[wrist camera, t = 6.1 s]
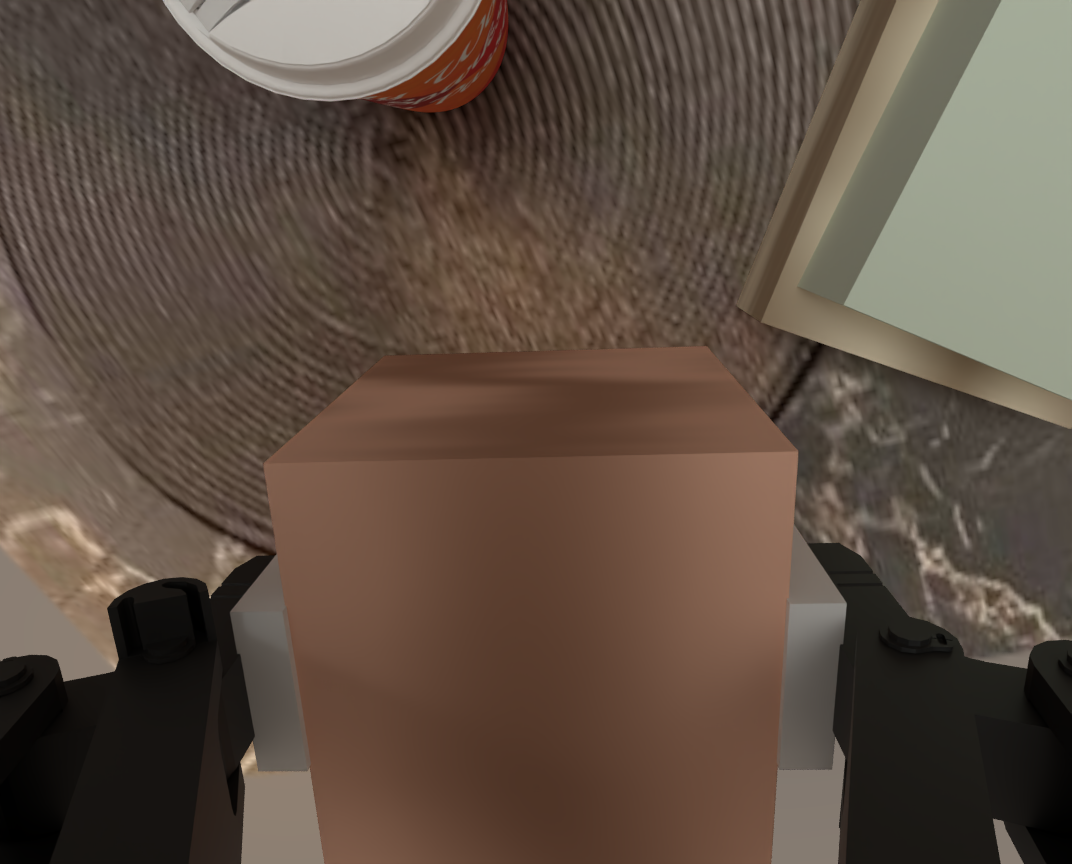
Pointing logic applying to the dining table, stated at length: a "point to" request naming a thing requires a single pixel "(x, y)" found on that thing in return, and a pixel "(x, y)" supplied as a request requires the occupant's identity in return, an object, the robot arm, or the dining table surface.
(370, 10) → the coffee cup
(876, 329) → the tower base
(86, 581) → the dining table surface
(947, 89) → the tower top
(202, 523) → the dining table surface
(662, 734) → the terracotta cube
